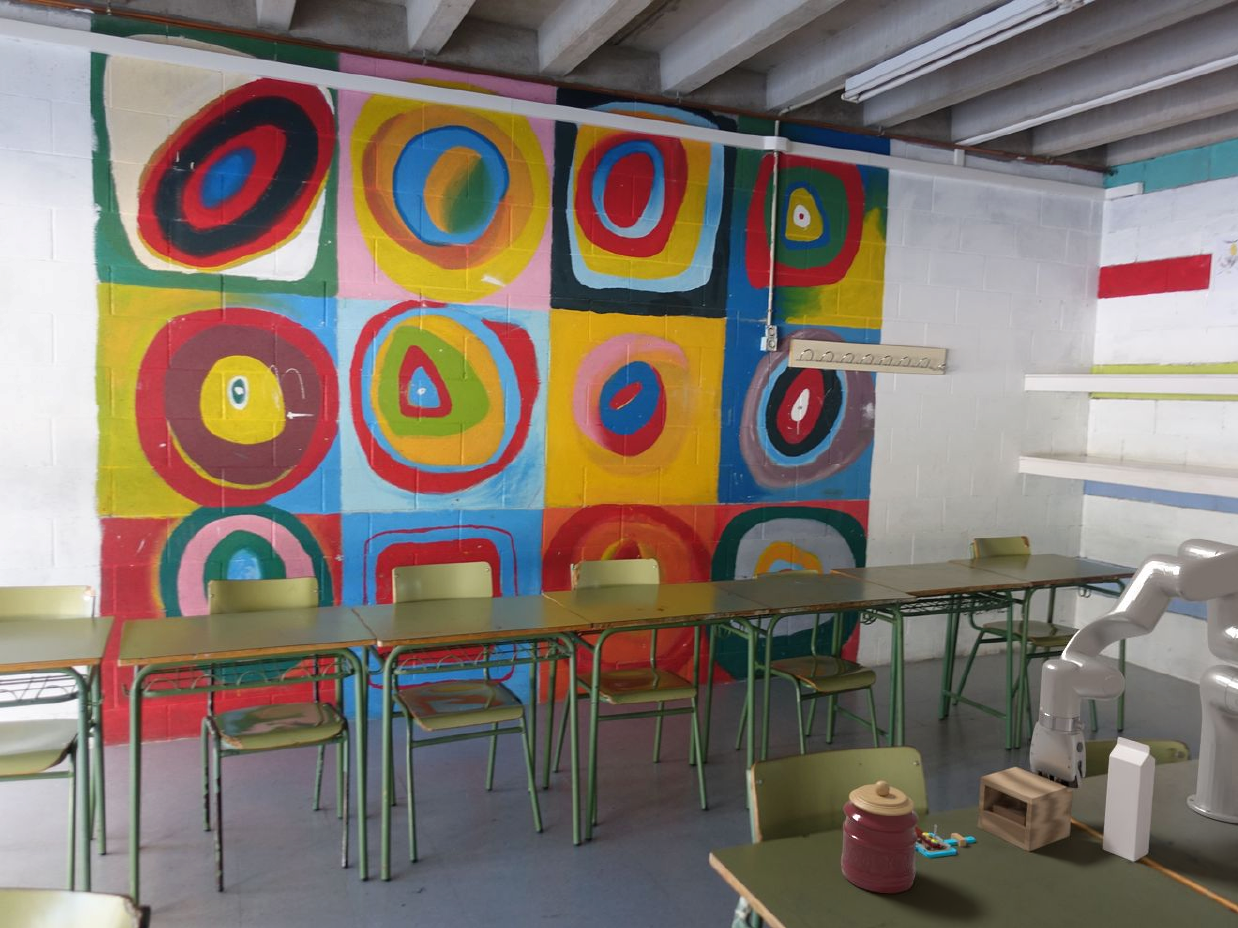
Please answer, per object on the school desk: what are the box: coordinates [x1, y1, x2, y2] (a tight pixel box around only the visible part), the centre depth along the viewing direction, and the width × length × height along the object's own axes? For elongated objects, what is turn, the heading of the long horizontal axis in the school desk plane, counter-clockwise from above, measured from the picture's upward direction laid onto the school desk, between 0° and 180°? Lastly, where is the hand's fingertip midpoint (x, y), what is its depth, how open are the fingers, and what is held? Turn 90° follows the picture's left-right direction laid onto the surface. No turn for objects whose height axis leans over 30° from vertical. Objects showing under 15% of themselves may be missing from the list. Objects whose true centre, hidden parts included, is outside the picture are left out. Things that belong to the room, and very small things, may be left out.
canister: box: [840, 780, 919, 894], centre depth 168 cm, size 13×13×18 cm
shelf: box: [977, 766, 1074, 852], centre depth 189 cm, size 14×12×10 cm
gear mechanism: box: [915, 824, 976, 859], centre depth 182 cm, size 20×5×9 cm
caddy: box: [993, 800, 1027, 827], centre depth 189 cm, size 14×7×8 cm, turn 122°
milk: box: [1102, 736, 1156, 863], centre depth 181 cm, size 6×6×22 cm
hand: (1053, 807), depth 194 cm, fingers closed
